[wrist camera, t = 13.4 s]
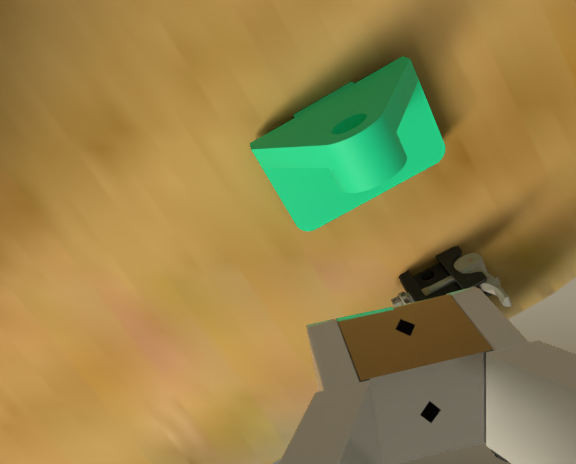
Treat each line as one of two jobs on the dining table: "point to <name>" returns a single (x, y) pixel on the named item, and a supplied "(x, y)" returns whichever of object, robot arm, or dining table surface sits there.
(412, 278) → the scope
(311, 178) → the camera mount
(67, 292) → the dining table surface
